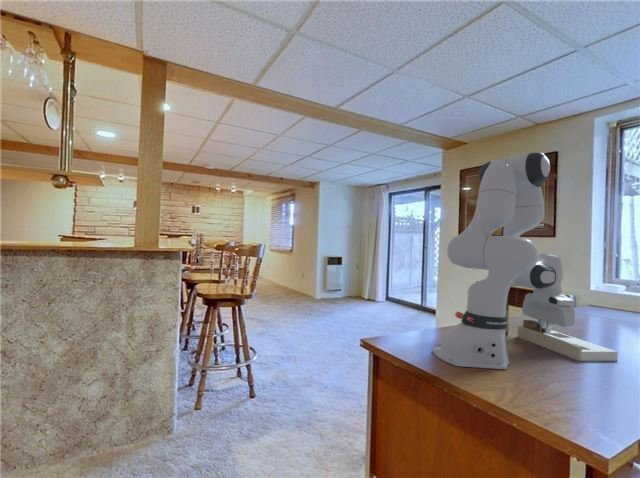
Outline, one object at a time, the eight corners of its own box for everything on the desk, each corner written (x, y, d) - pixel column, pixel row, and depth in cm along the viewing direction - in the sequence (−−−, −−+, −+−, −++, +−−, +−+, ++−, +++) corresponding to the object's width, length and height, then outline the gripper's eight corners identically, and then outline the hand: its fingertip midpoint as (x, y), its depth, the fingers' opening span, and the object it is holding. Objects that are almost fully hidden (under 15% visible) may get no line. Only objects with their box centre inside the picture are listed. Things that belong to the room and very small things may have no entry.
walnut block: (532, 333, 125) (533, 323, 125) (522, 330, 130) (523, 320, 130) (544, 333, 126) (544, 323, 126) (533, 330, 131) (534, 320, 131)
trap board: (578, 360, 105) (579, 347, 105) (517, 336, 131) (518, 325, 131) (617, 360, 108) (617, 347, 108) (549, 336, 133) (550, 326, 133)
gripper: (519, 291, 133) (517, 325, 133) (563, 301, 113) (561, 341, 113) (532, 292, 134) (530, 325, 134) (579, 302, 114) (577, 341, 114)
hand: (545, 332), depth 124 cm, fingers closed
